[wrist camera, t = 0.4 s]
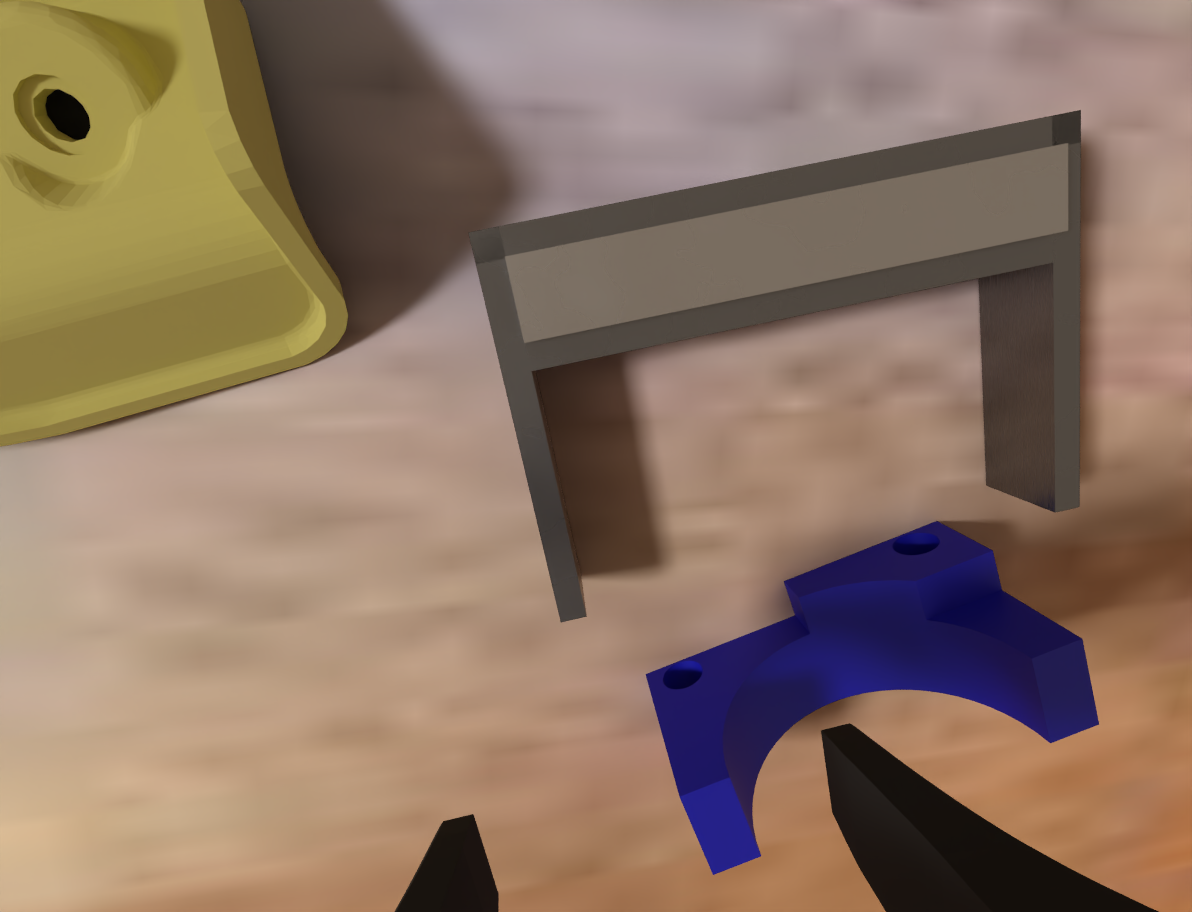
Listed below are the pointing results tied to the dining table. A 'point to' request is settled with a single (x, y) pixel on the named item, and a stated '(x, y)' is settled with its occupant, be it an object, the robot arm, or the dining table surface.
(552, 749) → the dining table surface
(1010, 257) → the rack
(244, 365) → the plastic component
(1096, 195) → the dining table surface
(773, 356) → the dining table surface
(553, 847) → the dining table surface
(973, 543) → the blue arched block
